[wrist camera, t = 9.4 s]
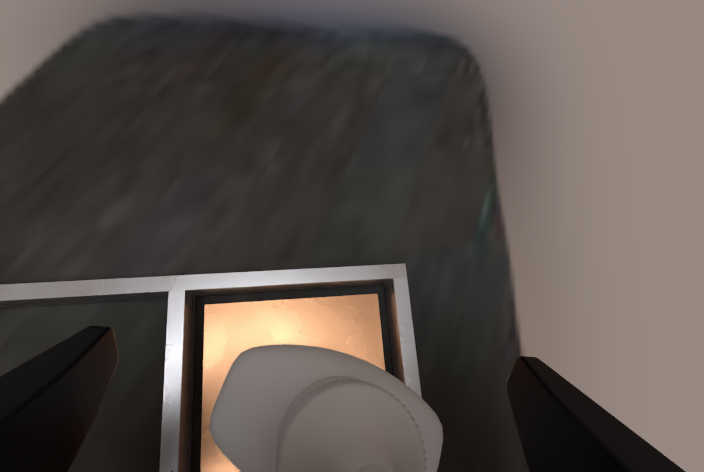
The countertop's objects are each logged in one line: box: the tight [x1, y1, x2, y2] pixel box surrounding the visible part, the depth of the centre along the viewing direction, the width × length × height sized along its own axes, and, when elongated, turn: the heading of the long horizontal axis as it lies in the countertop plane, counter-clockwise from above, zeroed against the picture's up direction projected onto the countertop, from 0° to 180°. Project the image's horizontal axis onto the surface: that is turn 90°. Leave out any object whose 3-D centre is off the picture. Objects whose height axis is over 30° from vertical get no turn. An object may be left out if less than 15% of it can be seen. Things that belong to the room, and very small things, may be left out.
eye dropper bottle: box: [209, 344, 443, 472], centre depth 10 cm, size 4×6×12 cm
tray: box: [0, 264, 422, 472], centre depth 15 cm, size 19×10×2 cm, turn 94°
